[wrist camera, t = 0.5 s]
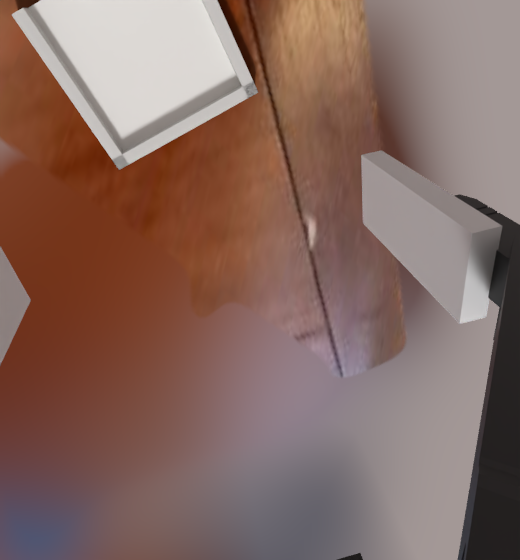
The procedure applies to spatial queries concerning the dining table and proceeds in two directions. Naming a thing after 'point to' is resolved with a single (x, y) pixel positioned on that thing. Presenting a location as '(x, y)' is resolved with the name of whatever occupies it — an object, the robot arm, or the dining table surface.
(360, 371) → the dining table surface
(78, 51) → the grey tray
